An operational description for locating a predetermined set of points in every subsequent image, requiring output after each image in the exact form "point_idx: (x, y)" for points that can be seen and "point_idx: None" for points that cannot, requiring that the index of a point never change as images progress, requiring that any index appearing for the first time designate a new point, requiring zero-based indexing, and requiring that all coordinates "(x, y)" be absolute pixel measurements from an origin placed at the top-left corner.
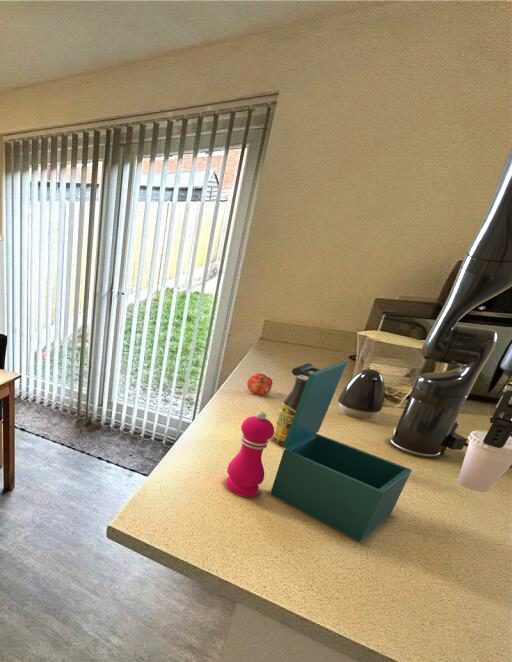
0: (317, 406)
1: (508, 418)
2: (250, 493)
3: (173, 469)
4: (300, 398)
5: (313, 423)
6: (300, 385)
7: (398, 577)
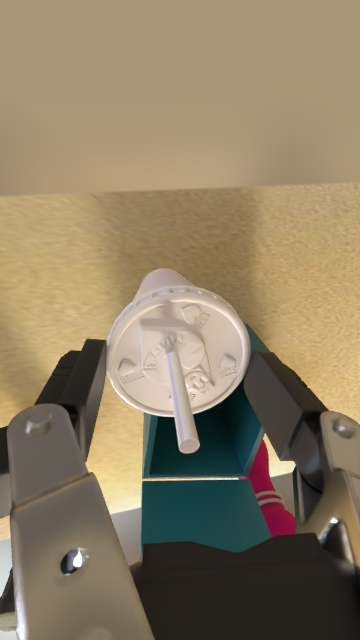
0: None
1: (91, 426)
2: None
3: None
4: None
5: (185, 513)
6: None
7: (288, 281)
